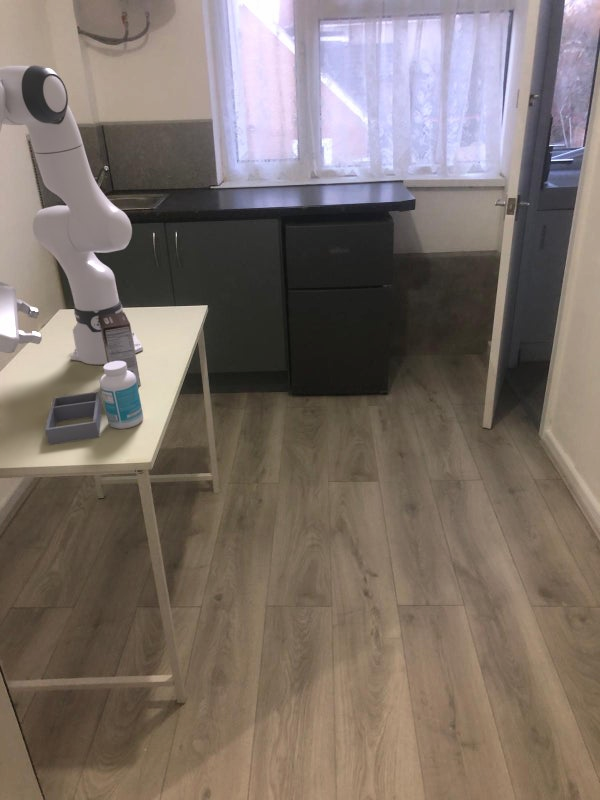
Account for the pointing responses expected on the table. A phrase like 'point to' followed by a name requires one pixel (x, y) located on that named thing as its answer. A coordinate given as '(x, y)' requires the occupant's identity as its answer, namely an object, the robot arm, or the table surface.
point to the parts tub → (74, 417)
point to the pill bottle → (121, 396)
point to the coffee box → (119, 341)
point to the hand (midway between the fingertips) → (39, 326)
